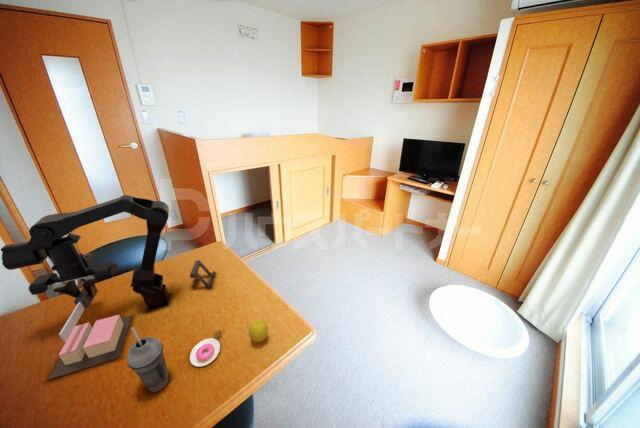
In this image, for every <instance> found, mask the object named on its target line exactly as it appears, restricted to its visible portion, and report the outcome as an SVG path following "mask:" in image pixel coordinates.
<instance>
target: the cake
mask: <svg viewBox="0 0 640 428" xmlns="http://www.w3.org/2000/svg"><path fill="white" fill-rule="evenodd" d="M123 325H124V323H123V321H122V317H121V315H120V314H116V315H112V316H109V317H105V318H100V319H97V320H95V322H94V324H93V328H92V330H91V332H90V334H89V336H88V338H87V340H86V342H85V344H84V347H83V349H84V351H85V352H86V354H87V356H88V357H89V358H91V357H94V356H98V355H101V354H104V353H108V352H111V351H114V350H115V348H116V345H117V342H118V340H119V337H120V334H121V331H122V328H123Z"/></svg>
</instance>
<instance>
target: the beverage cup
mask: <svg viewBox="0 0 640 428" xmlns="http://www.w3.org/2000/svg"><path fill="white" fill-rule="evenodd" d="M130 329H131V331H132V333H133V335H134V337H135V339H136V341H135V342H134V343H133V344H132V345H130V347H129V349H128V351H127V356H126V362H127V366H128V368H129V369H131V370H132V371H133V372H135V374H136V375H137V377H138V378H139V380H141V382H142V383H143V384H144V386H145V387H146V388H147V389H148V390H149V391H150V392H152V393H155V392H159V391H160V390H162V389H163V388H165V387H166V386H167V384H168V382H169V378H170V377H169V372H168V368H167V363H166V359H165V355H164V345H163V343H162V341H160V340H159V339H158V338H157V337H154V336H144V337H142V338H140V337H139V335H138V333H137V331H136V328H135V327H134V326H132V327H131V328H130Z"/></svg>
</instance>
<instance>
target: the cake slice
mask: <svg viewBox="0 0 640 428" xmlns="http://www.w3.org/2000/svg"><path fill="white" fill-rule="evenodd" d="M91 330H92V325H91V323H90V322H85V323H82V324H78V325H75V327H74V329H73V331H72V332H71V334H70V336H69V338H68V339H67V341H66V342H64V345H63V346H62V348H61V350H60V352H59V353H58V356H59V359H60V358H61V359H62V361H63V362H64V364H65V365H68V364H72V363H75V362H78V361H81V360H82V359H83V356H84V354H85V351H84V349H83V347H84V344H85V342H86V340H87V338H88V336H89V334H90V332H91Z"/></svg>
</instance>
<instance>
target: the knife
mask: <svg viewBox="0 0 640 428" xmlns="http://www.w3.org/2000/svg"><path fill="white" fill-rule="evenodd" d="M98 291H99V290H98V287H97V286H96V285H95V291H94V297H91V296H89V294H88V293H87V291H86V290H85V289H84V287H83V286H82V288H81V290H80V293H79V295H78V296H77V298H75V300H74V301H73V303H74V305H75V307H74V308H73V311H72V312H71V314H70V316H69V317H68V319H67V320H66V322H65V324H64V325H63V327H62V329H61V330H60V332H59V333H58V336H59V337H60V339H61V340H62V342H63V343H66V341H67V339H68V338H69V336H70V334H71V332H72V331H73V329H74V327H75V326H77V323H78V321H79V320H80V318H81V317H82V314H83V313H84V310H85V309H89V308H90V307H91V304H92V303H93V301H94V299H95V297H96V295H97V293H98Z"/></svg>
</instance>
